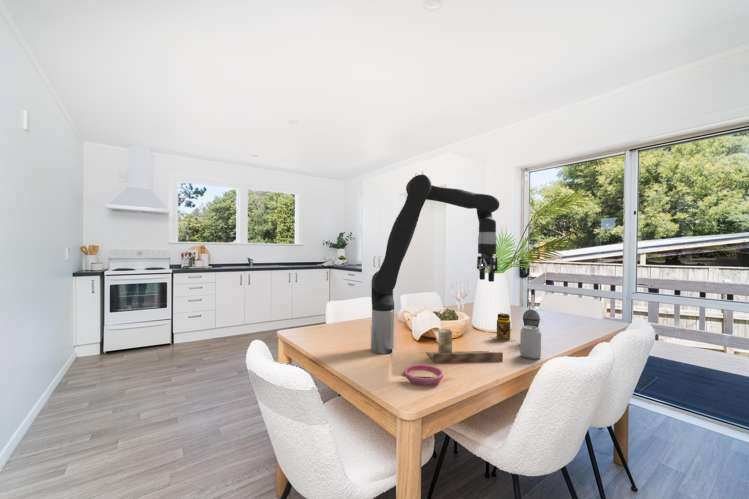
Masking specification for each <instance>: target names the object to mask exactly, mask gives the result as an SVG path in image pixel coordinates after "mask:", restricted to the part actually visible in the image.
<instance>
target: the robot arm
mask: <svg viewBox="0 0 749 499" xmlns="http://www.w3.org/2000/svg"><path fill="white" fill-rule="evenodd" d="M405 192H406V194H407V195H406V199H405V202H404V205H403V206H402V208H401V210H400V211H399V212H398V215H397V217H396V218H395V220H394V223H393V225H392V228H391V230H390V233H389V236H388V238H387V244H386V248H385V255H384V258H383V261H382V263H381V264H380V267H379V269H378V271H376V272H375V273H374V274H373V275H372V278H371V325H370V350H371V353H372V354H382V355H384V354H385V355H387V354H391V353H393V349H394V348H395V345H394V344H395V342H394V341H395V340H394V339H395V336H394V334H395V300H394V290H395V287H396V285H397V281H398V276H399V273H400V269H401V266H402V263H403V260H404V258H405V257H406V253H407V251H408V249H409V247H410V245H411V243H412V239H413V238H414V233H415V231H416V228H417V225H418V222H419V218H420V214H421V211H422V210H423V206H424V205H425V203H426V201H433V202H441V203H444V204H448V205H452V206H457V207H460V208H465V209H476V215H477V220H478V237H477V253H478V254H479V255H478V256H477V257H476V258H477V259H476V262H477V264H476V269H477V270H478V271H479V274H478V275H479V276H478V277H479V280H485V279H486V269H487V271H488V273H487V274H488V275H487V276H488V277H487V278H488V279H487V280H488V282H489V283H490V282H491V283H492V282H495V273H496V272H498V257H497V256H494V255H496V254H497V221H496V220H495V219H494V218H493V213H494V212H496V211H498V209H499V208H500V200H499V198H497V197H496V196H494V195H490V194H484V193H475V192H472V191H468V190H464V189H459V188H453V187H452V188H450V187H440V186H437V185H436V186H435V185H433V184H432V181H431V179H430V178H429V176H427V175H426V174H417V175H415V176H413V177H412V178H411V179H409V181H408V182H407V184H406V186H405Z"/></svg>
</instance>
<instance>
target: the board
mask: <svg viewBox="0 0 749 499" xmlns="http://www.w3.org/2000/svg"><path fill="white" fill-rule="evenodd" d="M425 354H426V355H427V356H428V358H429V359H430V360H431V361H432V362H433V363H434V364H445V363H447V364H449V363H451V364H452V363H454V364H455V363H479V362H483V363H486V362H501V363H504V362H503V361H504V356H503V354H504V352H502V351H491V352H490V351H489V350H466V351H464V350H463V351H452V353H438V351H430V352H429V351H427V352H425Z"/></svg>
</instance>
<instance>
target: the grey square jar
mask: <svg viewBox="0 0 749 499" xmlns="http://www.w3.org/2000/svg"><path fill="white" fill-rule="evenodd" d="M519 334H520V339H519V342H520V345H519V348H520V349H519V354H520V355H521V356H522V357H523V358H525V359H528V360H538V359H539V358H541V356H542V331H541V330H540V327H539V326H538V327H535V326H524V325H522V328H521V329H520V333H519Z"/></svg>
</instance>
